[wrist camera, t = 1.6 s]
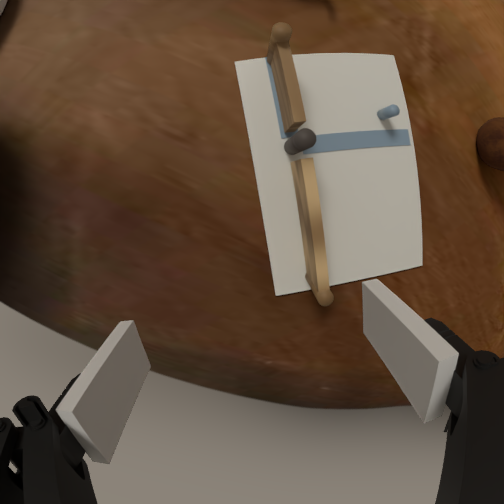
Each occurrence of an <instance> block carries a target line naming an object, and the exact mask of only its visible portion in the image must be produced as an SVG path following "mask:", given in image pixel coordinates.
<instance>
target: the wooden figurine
mask: <svg viewBox="0 0 504 504" xmlns="http://www.w3.org/2000/svg"><path fill="white" fill-rule="evenodd" d="M477 148H478V152H479V155H480V157H481V159H482V160H483V161H484V162H485V163H486V164H488V165H489V166H491V167H493V168H495V169H498V170H501V171H504V118H493V119H490V120H488V121H487V122H486V123H484V124H483V126H482V127H481V128H480V129H479V131H478V135H477Z"/></svg>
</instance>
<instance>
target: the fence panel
mask: <svg viewBox="0 0 504 504" xmlns="http://www.w3.org/2000/svg"><path fill="white" fill-rule="evenodd" d="M290 163H291V169H292V175H293V181H294V187H295V194H296V200H297V207H298V213H299V220H300V227H301V234H302V242H303V249H304V257H305V265H306V274H305V279H306V281H307V282H308V284H309V286H310V288H311V290H312V291H313V293H314V295H315V297H316V299H317V300H318V302H319V304H320V305H322V306H328V305H330V304H331V303H332V302H333V299H334V297H333V294H332V293H331V291H330V287H329V276H328V266H327V256H326V247H325V238H324V230H323V222H322V214H321V207H320V200H319V193H318V186H317V179H316V173H315V167H314V161H313V158H305V159H299V160H296V161H292V162H290Z"/></svg>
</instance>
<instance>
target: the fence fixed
mask: <svg viewBox="0 0 504 504" xmlns="http://www.w3.org/2000/svg"><path fill="white" fill-rule="evenodd" d="M291 34H292V28H291V27H290V26H289V25H288V24H286V23H282V22H281V23H276V24H275V25H274V26H273V28H272V33H271V38H270V43H269V49H268V54H267V62H268V64H270V65H271V68H272V73H273V78H274V82H275V87H276V92H277V97H278V102H279V107H280V112H281V117H282V122H283V128H284V133H288V132H295V131H296V130H297V129H298V128H299V127H300V126H301V125H302V124H304V123H305V122H306V117H305V111H304V107H303V102H302V97H301V92H300V88H299V83H298V79H297V74H296V70H295V65H294V61H293V57H292V53H291V49H290V45H289V40H290V37H291ZM315 143H316V135H315V133H314V132H313V131H312V130H311V129H308V128H303V129H300V130H299V131H298V132H297V133H295V134H294V135H293V136H292V137H291V138H289V139H288V140H287V141H286V142H285V144H284V150H285V151H286V153H288V154H290V155H295V154H297V153H299V152H302V151H304V150H307V149H309V148H311V147H313V146H314V145H315Z"/></svg>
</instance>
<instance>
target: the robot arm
mask: <svg viewBox="0 0 504 504" xmlns="http://www.w3.org/2000/svg"><path fill="white" fill-rule="evenodd" d="M362 292H363V333H364V334H365V336H366V337H367V339H368V340H369V341H370V343H371V344H372V346H373V347H374V349H375V350H376V352H377V353H378V355H379V356H380V358H381V359H382V360H383V362H384V363H385V365H386V366H387V368H388V369H389V371H390V372H391V374H392V375H393V377H394V378H395V380H396V381H397V383H398V384H399V386H400V387H401V389H402V391H403V392H404V394H405V395H406V397H407V398H408V400H409V401H410V403H411V404H412V406H413V408H414V409H415V411H416V412H417V414H418V415H419V417H420V419H421V420H422V422H423V423H427V422H429V421H431V420H433V419H436V418H438V417H440V416H442V414H443V411H444V408H445V404H446V405H447V406H448V407H449V409H450V410H451V413H450V416H449V419H448V421H447V424H446V427H445V430H444V432H447V430H448V432H447V442H446V450H445V457H444V463H443V469H442V474H441V480H440V485H439V490H438V494H437V498H436V503H435V504H504V358H501V359H499V357H498V356H497V355H496V354H494V353H492V352H489V351H483V350H481V351H474V350H473V349H472V348H471V347H470V346H468V345H467V344H466V343H465V342H464V341H463V340H462V339H461V338H459V337H458V336H457V335H455V333H454V332H453V331H451V330H449V328H448V327H447V326H446V325H445V324H443V323H442V322H440V321H438V320H435V319H433V318H429V319H426V320H423V319H422V318H421V317H420V316H419V315H417V314H416V313H415V312H414V311H413V310H412V309H411V308H410V307H409V306H407V305H406V304H405V303H404V302H403V301H402V300H401V299H400V298H398V297H397V296H396V295H395V294H394V293H393V292H392V291H390V290H389V289H388V288H387V287H386V286H385V285H383V284H382V283H381V282H380V281H379V280H378V279H374V280H369V281H365V282H362ZM150 367H151V365H150V363H149V360H148V358H147V355H146V353H145V350H144V347H143V345H142V342H141V340H140V337H139V334H138V332H137V329H136V326H135V323H134V320H131V321H122V322H120V323H119V324H118V325H117V326H116V328H115V329H114V330H113V332H112V333H111V334H110V335H109V337H108V338H107V339H106V341H105V342H104V343H103V345H102V346H101V347H100V349H99V350H98V351H97V353H96V354H95V355H94V357H93V358H92V359H91V361H90V362H89V363H88V365H87V366H86V368H85V369H84V370H83V371H82V373H80V374H79V375H77V376H76V377H75V378H73V379H72V380H71V382H70V383H69V384H68V386H67V387H66V389H65V390H64V391H63V393H62V395H60V397H59V398H58V400H57V401H56V402H55V404H54V405H53V406H52V408H51V409H50V411H49V412H48V411H47V409H46V408H45V406H44V405H43V403H42V402H41V400H40V398H39V397H37V396H27V397H25V398H22V399H21V400H20V401H18V402H17V403H16V404H15V406H14V407H13V410H12V411H13V412H14V414H15V415H16V417H17V418H18V420H19V421H20V422H21V424H22V425H23V427H15V426H14V424H13V423H12V421H11V420H10V419H9V418H5V417H3V418H0V504H97V501H96V497H95V494H94V490H93V487H92V484H91V479H90V475H89V471H88V467H87V464H86V462H85V461H84V459H83V456H84V454H85V452H86V453H87V454H88V456H89V457H90V458H91V459H92V461H94V462H100V463H106V464H110V461H111V459H112V456H113V454H114V451H115V449H116V446H117V444H118V442H119V439H120V437H121V434H122V431H123V429H124V427H125V425H126V422H127V420H128V418H129V415H130V413H131V411H132V408H133V406H134V404H135V401H136V399H137V397H138V394H139V392H140V390H141V388H142V385H143V383H144V381H145V379H146V376H147V374H148V372H149V370H150ZM10 461H11V463H12V464H13V465H14V466H15V467H16V468H17V472H16V474H15V473H14V472H13V471H12V470H11V469H10V468H9V467H8V466H9V463H10Z"/></svg>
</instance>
